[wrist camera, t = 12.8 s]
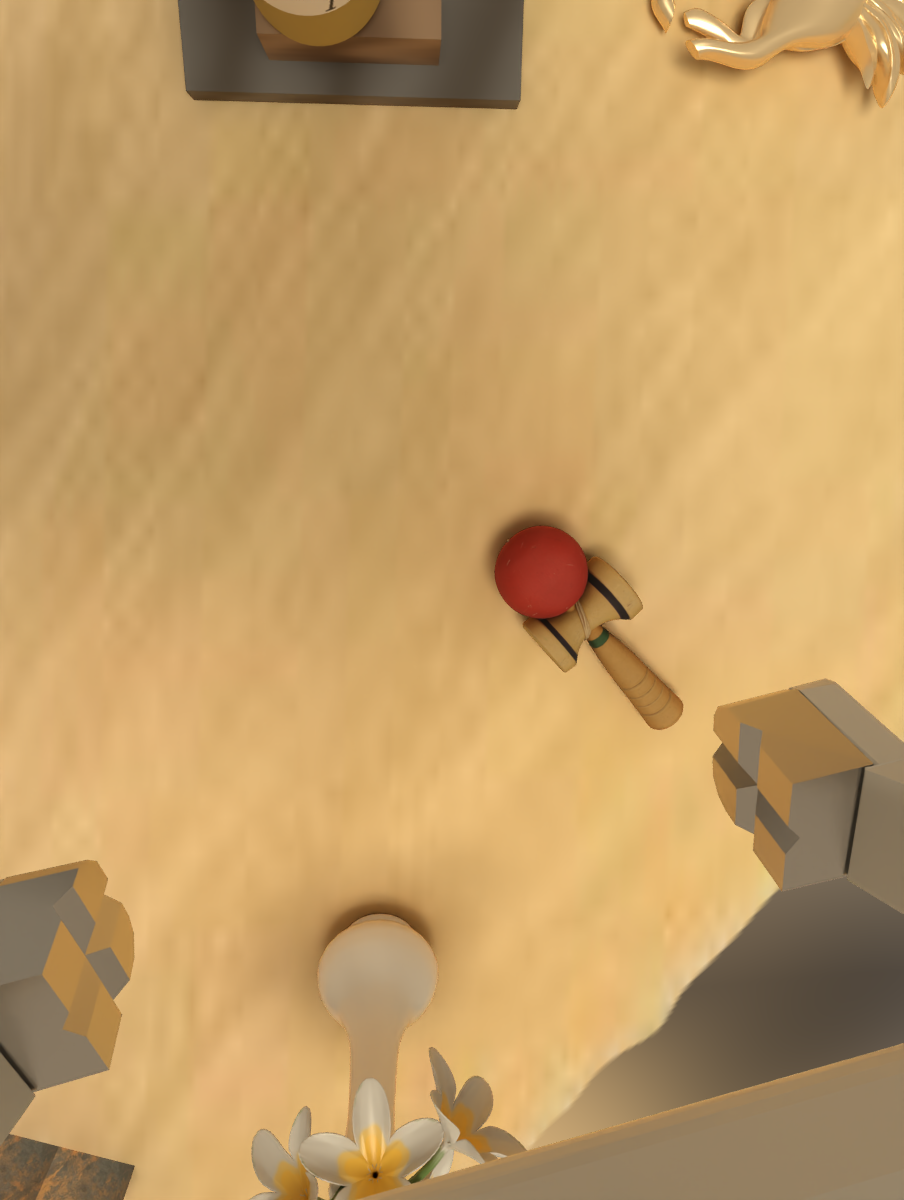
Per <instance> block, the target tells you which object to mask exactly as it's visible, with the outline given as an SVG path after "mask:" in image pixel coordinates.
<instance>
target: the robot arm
mask: <svg viewBox="0 0 904 1200" xmlns="http://www.w3.org/2000/svg"><path fill="white" fill-rule="evenodd" d="M713 731H714V732H715V733H716V735H717V736H718V737H719V739H720V740H721V741H722V744H721V745H720V747H719V748H718V750H717V751H716V752H715V754H714V755H713V777H714V781H715V785H716V789H717V792H718V796H719V798H720V800H721V802H722V804H723V806H724V808H725V810H726V812H727V813H728V815H729V816H730V818H731V819H732V821H733V822H734V824H735V825H737V826H739V827H741V828H743V829H745V830H747V831H749V832H751V833H753V834H754V845H753V851H754V853H755V854H756V855H757V857H758V858H759V860H760V861H761V862H762V864H763V865H764V867H765V868H766V870H767V871H768V872H769V874H770V875H771V877H772V878H773V879H774V881H775V882H776V884H777V885H778V887H779V888H780V889H781V891H782V892H783V891H787V890H791V889H795V888H799V887H804V886H808V885H812V884H816V883H820V882H825V881H829V880H834V879H838V878H842V877H846V876H847V880H848V881H850V882H851V883H853V884H854V885H856V886H858V887H859V888H861V889H863V890H864V891H866V892H868V893H869V894H871V895H873V896H874V897H876V898H878V899H879V900H881V901H882V902H884V903H886V904H888V905H889V906H891V907H892V908H894V909H896V910H897V911H899V912H901V913H902V914H904V742H902V741H901V740H900V739H899V738H898V737H897V736H896V735H895V734H893V733H892V732H891V731H890V730H889V729H888V728H887V727H885V726H884V725H883V724H882V723H881V722H880V721H879V720H878V719H876V718H875V717H874V716H873V715H872V714H871V713H870V712H869V711H867V710H866V709H865V708H864V707H863V706H862V705H861V704H860V703H858V702H857V701H856V700H855V699H854V698H853V697H852V696H851V695H849V694H848V693H847V692H846V691H845V690H844V689H843V688H842V687H840V686H839V685H838V684H837V683H836V682H834V681H831V680H828V679H822V680H818V681H814V682H810V683H807V684H803V685H799V686H795V687H791V688H789V689H788V690H781V691H777V692H773V693H769V694H765V695H761V696H757V697H753V698H750V699H746V700H742V701H738V702H734V703H730V704H726V705H722V706H718V707H717V710H716V712H715V714H714V728H713ZM107 881H108V878H107V876H106V875H105V873H104V872H103V870H102V869H101V867H100V865H99V864H98V862H97V861H92V860H84V861H79V862H75V863H70V864H65V865H61V866H56V867H52V868H47V869H43V870H38V871H33V872H29V873H24V874H20V875H15V876H11V877H7V878H6V879H2V880H0V1146H1V1145H2V1143H3V1142H4V1140H5V1139H6V1138H7V1136H8V1135H9V1133H10V1132H11V1130H12V1129H13V1128H14V1126H15V1125H16V1123H17V1122H18V1120H19V1119H20V1117H21V1116H22V1115H23V1113H24V1112H25V1110H26V1109H27V1107H28V1106H29V1105H30V1103H31V1102H32V1100H33V1099H34V1097H35V1094H34V1093H33V1092H36V1091H39V1090H42V1089H46V1088H49V1087H52V1086H56V1085H59V1084H63V1083H66V1082H69V1081H73V1080H76V1079H80V1078H83V1077H86V1076H90V1075H93V1074H97V1073H100V1072H103V1071H107V1070H109V1068H110V1064H111V1060H112V1055H113V1051H114V1047H115V1043H116V1038H117V1034H118V1030H119V1025H120V1021H121V1017H122V1014H121V1012H120V1010H119V1009H118V1007H117V1006H116V1004H115V1002H114V1001H113V1000H114V999H115V997H116V996H117V995H118V994H119V992H120V991H121V990H122V989H123V988H124V986H125V985H126V984H127V983H128V981H129V980H130V977H131V972H132V967H133V962H134V932H133V929H132V925H131V922H130V918H129V915H128V913H127V912H126V910H125V908H124V906H123V904H122V903H121V902H119V901H117V900H115V899H113V898H110V897H108V896H106V895H104V892H105V888H106V885H107ZM357 1200H904V1043H903V1044H900V1045H896V1046H893V1047H889V1048H886V1049H882V1050H879V1051H875V1052H872V1053H868V1054H865V1055H862V1056H858V1057H855V1058H851V1059H848V1060H844V1061H840V1062H837V1063H833V1064H830V1065H826V1066H823V1067H819V1068H816V1069H812V1070H809V1071H806V1072H802V1073H798V1074H795V1075H791V1076H788V1077H784V1078H781V1079H777V1080H774V1081H770V1082H767V1083H763V1084H760V1085H756V1086H753V1087H749V1088H746V1089H742V1090H739V1091H735V1092H732V1093H728V1094H725V1095H721V1096H718V1097H714V1098H710V1099H707V1100H703V1101H700V1102H696V1103H693V1104H690V1105H686V1106H682V1107H679V1108H675V1109H672V1110H668V1111H665V1112H662V1113H658V1114H654V1115H651V1116H648V1117H644V1118H640V1119H637V1120H633V1121H630V1122H627V1123H623V1124H619V1125H616V1126H612V1127H609V1128H605V1129H602V1130H598V1131H595V1132H591V1133H588V1134H584V1135H581V1136H577V1137H574V1138H570V1139H567V1140H563V1141H560V1142H556V1143H553V1144H549V1145H546V1146H542V1147H539V1148H535V1149H532V1150H528V1151H525V1152H521V1153H518V1154H514V1155H511V1156H507V1157H504V1158H500V1159H497V1160H493V1161H490V1162H486V1163H483V1164H479V1165H476V1166H472V1167H469V1168H465V1169H462V1170H458V1171H455V1172H451V1173H448V1174H444V1175H441V1176H437V1177H434V1178H430V1179H427V1180H423V1181H420V1182H416V1183H413V1184H409V1185H406V1186H402V1187H399V1188H395V1189H392V1190H388V1191H385V1192H381V1193H378V1194H374V1195H371V1196H367V1197H364V1198H361V1199H357Z"/></svg>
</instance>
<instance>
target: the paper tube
mask: <svg viewBox="0 0 904 1200" xmlns="http://www.w3.org/2000/svg"><path fill="white" fill-rule="evenodd" d="M254 2H255V4H256V6H257V7H258V9H259V10H260V12H261V13H262V15H263V16H264V17H265V18H266V19H267V21H268V22H269V23H270V24H271V25H272V26H273V27H274V28H276V29H277V30H278V31H279V32H281V33H282V34H283V35H285V36H286V37H288V38H290V39H292V40H294V41H296V42H299V43H302V44H306V45H310V46H329V45H334V44H338V43H340V42H343V41H345V40H347V39H349V38H351V37H352V36H353V35H355V34H356V33H358V32H359V31H360V30H361V29H362V28H363V27H364V26H365V25H366V24H367V22H368V21H369V20H370V18H371V17H372V16H373V14H374V12H375V10H376V9H377V6H378V4H379V2H380V0H254Z"/></svg>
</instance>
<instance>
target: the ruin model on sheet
mask: <svg viewBox="0 0 904 1200" xmlns="http://www.w3.org/2000/svg"><path fill="white" fill-rule="evenodd" d="M133 1169H134V1166H133V1165H129V1164H125V1163H121V1162H117V1161H113V1160H109V1159H106V1158H102V1157H98V1156H94V1155H90V1154H86V1153H82V1152H78V1151H74V1150H70V1149H66V1148H62V1147H58V1146H54V1145H50V1144H46V1143H42V1142H38V1141H34V1140H31V1139H27V1138H23V1137H19V1136H15V1135H11V1134H9V1135H8V1136H7V1138H6V1139H5V1140H4V1142H3V1143H2V1145H1V1147H0V1200H123V1199H124V1196H125V1193H126V1190H127V1187H128V1184H129V1181H130V1178H131V1175H132V1172H133Z"/></svg>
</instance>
